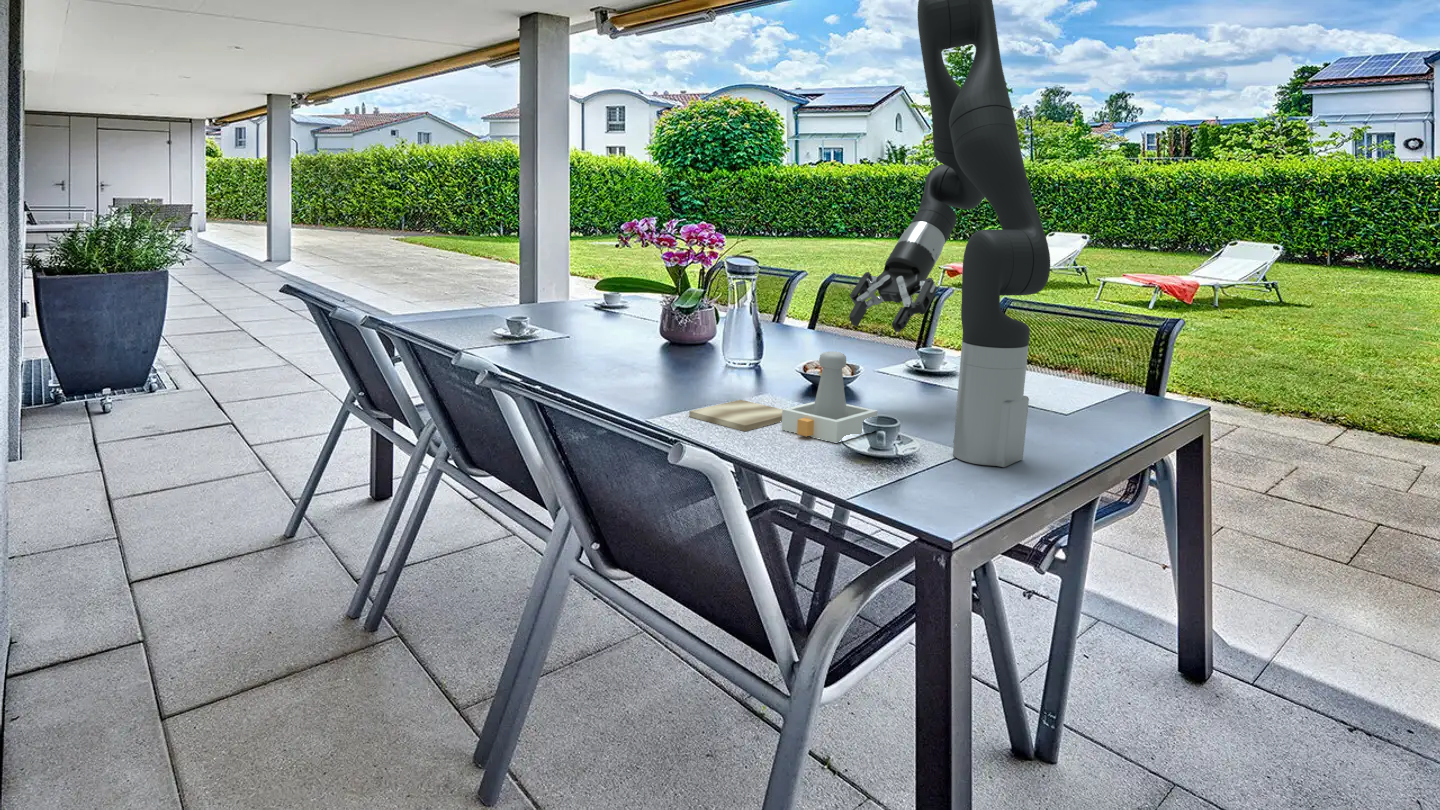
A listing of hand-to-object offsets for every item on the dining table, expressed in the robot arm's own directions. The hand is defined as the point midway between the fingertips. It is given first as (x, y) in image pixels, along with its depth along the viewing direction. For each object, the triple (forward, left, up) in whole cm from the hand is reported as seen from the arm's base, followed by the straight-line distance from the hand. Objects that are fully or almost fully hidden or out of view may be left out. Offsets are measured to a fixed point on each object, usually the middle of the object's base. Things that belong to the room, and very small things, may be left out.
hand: (873, 325), depth 150 cm
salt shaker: (0, +11, -16) cm, 20 cm away
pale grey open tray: (0, +11, -16) cm, 20 cm away
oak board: (+15, +15, -16) cm, 27 cm away
